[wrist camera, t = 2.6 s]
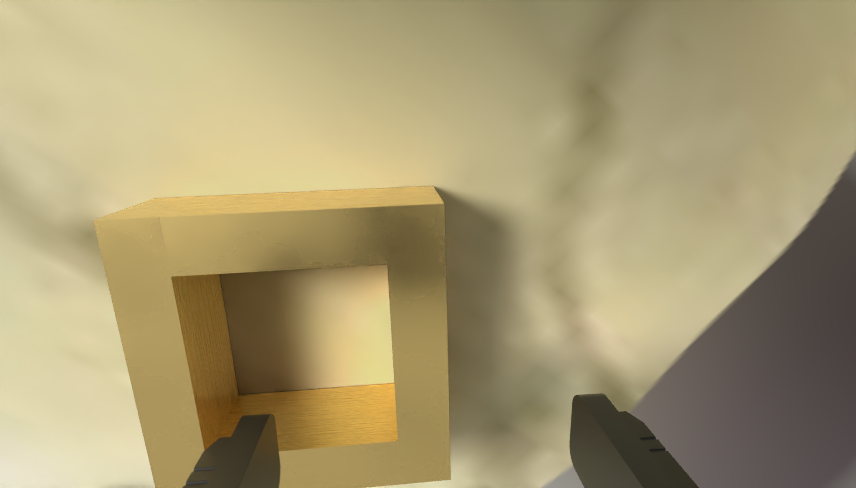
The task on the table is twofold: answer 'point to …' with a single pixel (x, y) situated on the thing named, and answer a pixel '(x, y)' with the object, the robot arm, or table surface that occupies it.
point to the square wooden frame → (210, 344)
